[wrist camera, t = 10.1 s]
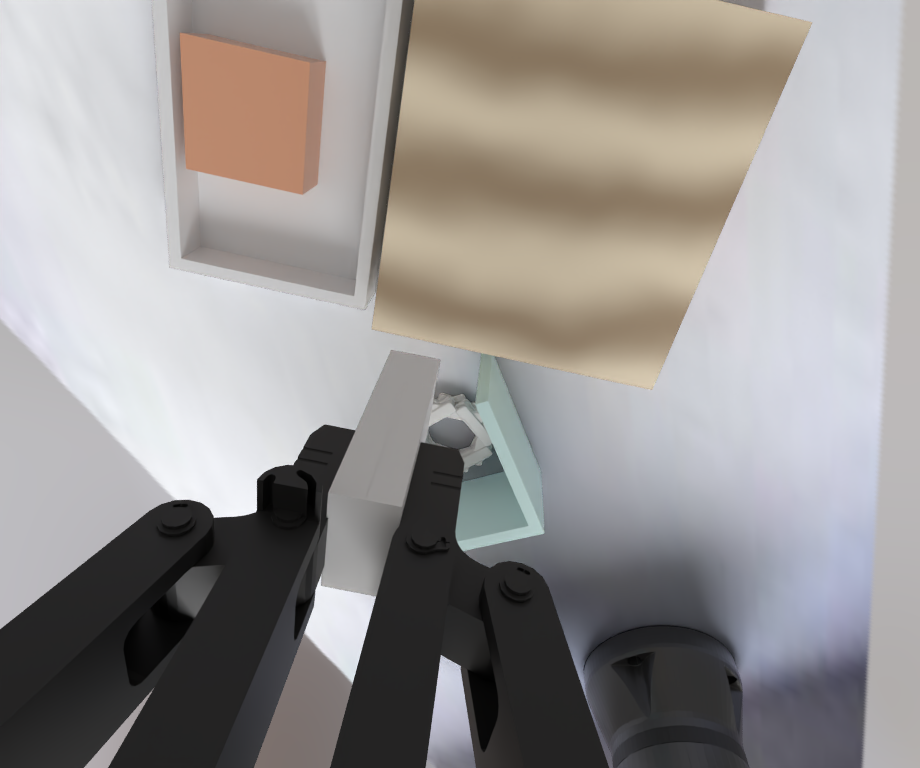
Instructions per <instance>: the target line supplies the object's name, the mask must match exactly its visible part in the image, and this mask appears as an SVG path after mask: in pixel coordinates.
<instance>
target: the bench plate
mask: <svg viewBox="0 0 920 768" xmlns="http://www.w3.org/2000/svg"><path fill="white" fill-rule="evenodd" d="M811 24H812V22H808V21H804V20H800V19H796V18H791V17H787V16H783V15H779V14H774V13H770V12H766V11H762V10H757V9H753V8H749V7H745V6H740V5H736V4H732V3H728V2H723V1H719V0H415V1H414V8H413V16H412V24H411V31H410V39H409V47H408V54H407V62H406V70H405V77H404V85H403V93H402V100H401V108H400V116H399V123H398V131H397V139H396V146H395V154H394V162H393V169H392V177H391V185H390V192H389V200H388V208H387V215H386V223H385V231H384V239H383V246H382V254H381V262H380V269H379V277H378V285H377V292H376V300H375V308H374V315H373V323H372V330H377V331H381V332H386V333H391V334H395V335H400V336H405V337H409V338H414V339H418V340H423V341H428V342H432V343H437V344H442V345H446V346H451V347H455V348H460V349H465V350H469V351H474V352H479V353H483V354H488V355H492V356H497V357H502V358H506V359H511V360H516V361H520V362H525V363H529V364H534V365H539V366H543V367H548V368H552V369H557V370H562V371H566V372H571V373H576V374H580V375H585V376H589V377H594V378H599V379H603V380H608V381H613V382H617V383H622V384H626V385H631V386H636V387H640V388H645V389H650V390H652V389H653V387H654V385H655V382H656V380H657V378H658V375H659V373H660V371H661V368H662V366H663V364H664V362H665V359H666V357H667V355H668V352H669V350H670V348H671V346H672V343H673V341H674V339H675V336H676V334H677V332H678V329H679V327H680V325H681V323H682V320H683V318H684V316H685V313H686V311H687V309H688V307H689V304H690V302H691V300H692V297H693V295H694V293H695V290H696V288H697V286H698V284H699V281H700V279H701V277H702V274H703V272H704V270H705V268H706V265H707V263H708V261H709V258H710V256H711V254H712V251H713V249H714V247H715V245H716V242H717V240H718V238H719V235H720V233H721V231H722V229H723V226H724V224H725V222H726V219H727V217H728V215H729V212H730V210H731V208H732V206H733V203H734V201H735V199H736V196H737V194H738V192H739V190H740V187H741V185H742V183H743V180H744V178H745V176H746V173H747V171H748V169H749V167H750V164H751V162H752V160H753V157H754V155H755V153H756V151H757V148H758V146H759V144H760V141H761V139H762V137H763V135H764V132H765V130H766V128H767V125H768V123H769V121H770V118H771V116H772V114H773V112H774V109H775V107H776V105H777V102H778V100H779V98H780V96H781V93H782V91H783V89H784V86H785V84H786V82H787V79H788V77H789V75H790V73H791V70H792V68H793V66H794V63H795V61H796V59H797V57H798V54H799V52H800V50H801V47H802V45H803V43H804V40H805V38H806V36H807V34H808V31H809V29H810V27H811Z"/></svg>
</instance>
